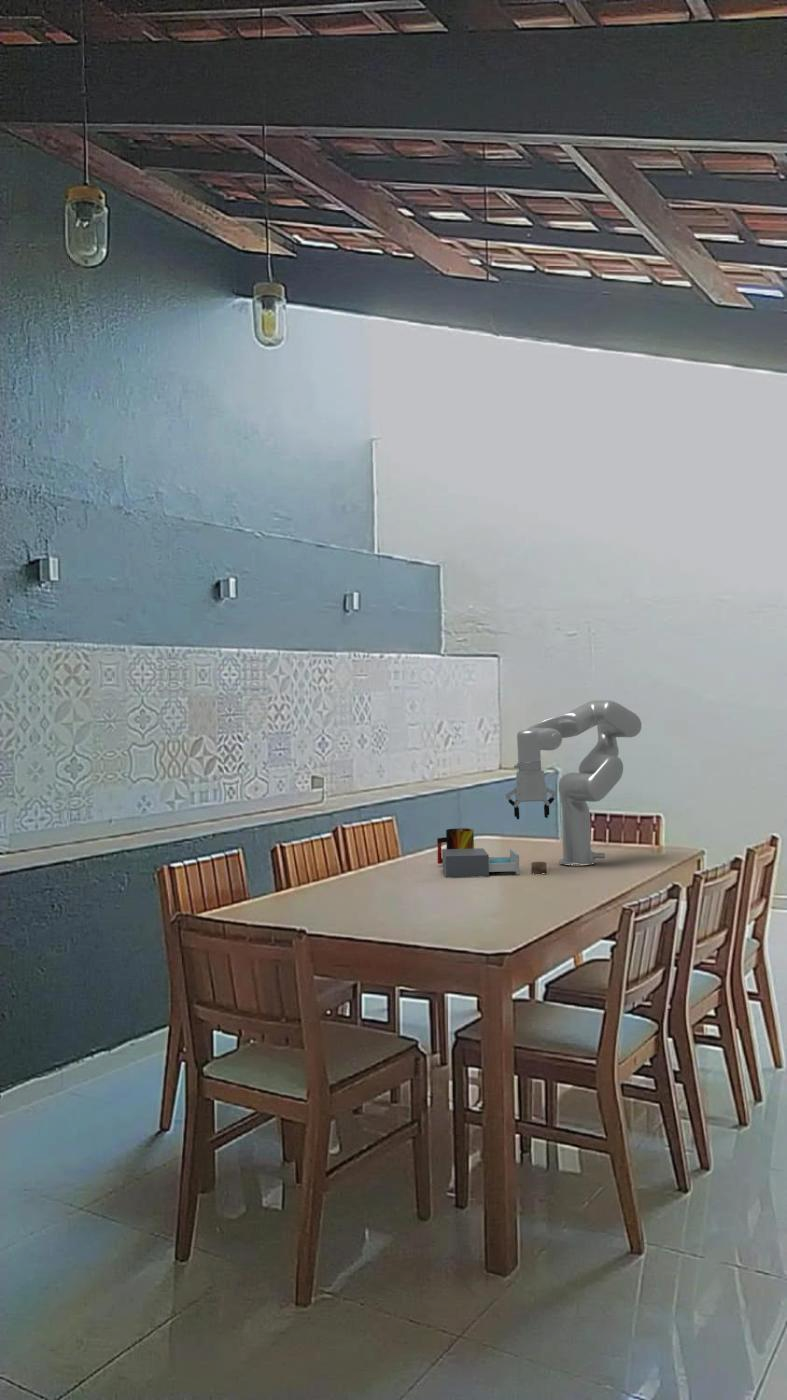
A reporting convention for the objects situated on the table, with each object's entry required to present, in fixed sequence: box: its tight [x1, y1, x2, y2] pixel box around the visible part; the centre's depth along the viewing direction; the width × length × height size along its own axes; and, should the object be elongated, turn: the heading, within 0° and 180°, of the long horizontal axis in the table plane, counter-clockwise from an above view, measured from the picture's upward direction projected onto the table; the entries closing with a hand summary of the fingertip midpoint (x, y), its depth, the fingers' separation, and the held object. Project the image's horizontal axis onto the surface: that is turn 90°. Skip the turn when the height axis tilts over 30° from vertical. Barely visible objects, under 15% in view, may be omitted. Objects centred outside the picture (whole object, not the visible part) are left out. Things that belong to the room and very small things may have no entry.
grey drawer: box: [489, 848, 520, 875], centre depth 388 cm, size 13×15×6 cm
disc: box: [489, 858, 511, 863], centre depth 388 cm, size 7×7×2 cm
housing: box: [441, 847, 490, 878], centre depth 388 cm, size 14×17×7 cm
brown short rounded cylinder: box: [530, 861, 548, 875], centre depth 383 cm, size 5×5×4 cm
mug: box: [436, 827, 475, 865], centre depth 407 cm, size 10×14×12 cm
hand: (532, 818), depth 389 cm, fingers open, 9 cm apart
